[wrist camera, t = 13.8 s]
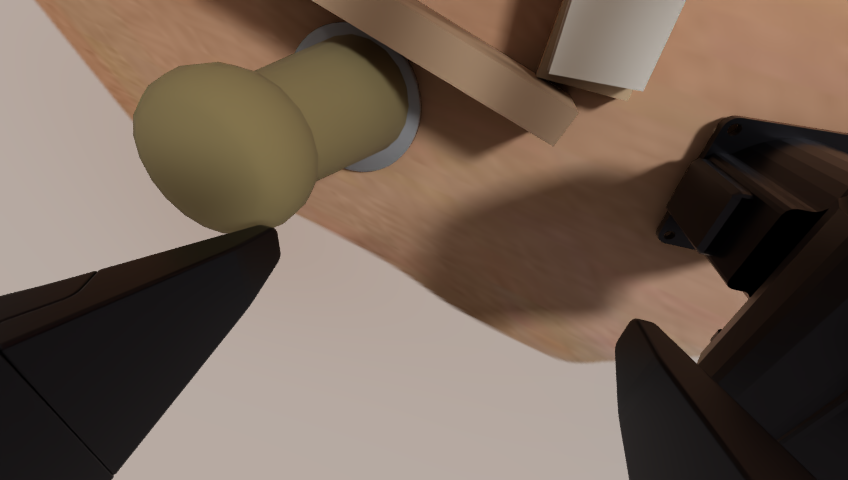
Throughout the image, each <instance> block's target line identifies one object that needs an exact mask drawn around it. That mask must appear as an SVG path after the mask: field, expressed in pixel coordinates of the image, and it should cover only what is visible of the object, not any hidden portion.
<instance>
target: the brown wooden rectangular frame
mask: <svg viewBox="0 0 848 480" xmlns="http://www.w3.org/2000/svg"><path fill="white" fill-rule="evenodd" d="M312 1H313V2H315V3H317V4H318V5H320V6H322V7H323V8H325V9H327V10H328V11H330V12H332V13H333V14H335V15H337V16H338V17H340V18H342V19H343V20H345V21H346V22H348V23H350V24H351V25H353V26H355V27H356V28H358V29H360V30H361V31H363V32H365V33H366V34H368V35H370V36H371V37H373V38H375V39H376V40H378V41H380V42H381V43H383V44H385V45H386V46H388V47H389V48H391V49H393V50H394V51H396V52H398V53H399V54H401V55H403V56H404V57H406V58H408V59H409V60H411V61H413V62H414V63H416V64H418V65H419V66H421V67H423V68H424V69H426V70H428V71H429V72H431V73H432V74H434V75H436V76H437V77H439V78H441V79H442V80H444V81H446V82H447V83H449V84H451V85H452V86H454V87H456V88H457V89H459V90H461V91H462V92H464V93H466V94H467V95H469V96H471V97H472V98H474V99H475V100H477V101H479V102H480V103H482V104H484V105H485V106H487V107H489V108H490V109H492V110H494V111H495V112H497V113H499V114H500V115H502V116H504V117H505V118H507V119H509V120H510V121H512V122H514V123H515V124H517V125H518V126H520V127H522V128H523V129H525V130H527V131H528V132H530V133H532V134H533V135H535V136H537V137H538V138H540V139H542V140H543V141H545V142H547V143H548V144H550V145H552V146H554V145H555V144H556V142H557V141H558V140H559V139H560V137H561V136H562V135H563V133H564V132H565V131H566V129H567V128H568V127H569V126H570V124H571V123H572V122H573V120H574V119H575V118H576V116H577V115H578V114H579V111H578V110H577V108H576V106H575V104H574V102H573V100H572V98H571V96H570V94H568V93H567V92H565V91H563V90H562V89H560V88H559V87H557V86H555V85H554V84H552V83H550V82H549V81H547V80H546V79H543V78H539V77H536V73H534V72H533V71H531V70H529V69H528V68H526V67H524V66H523V65H521V64H520V63H518V62H516V61H515V60H513V59H511V58H510V57H508V56H507V55H505V54H503V53H502V52H500V51H498V50H497V49H495V48H494V47H492V46H490V45H489V44H487V43H485V42H484V41H482V40H481V39H479V38H477V37H476V36H474V35H472V34H471V33H469V32H468V31H466V30H464V29H463V28H461V27H459V26H458V25H456V24H455V23H453V22H451V21H450V20H448V19H446V18H445V17H443V16H442V15H440V14H438V13H437V12H435V11H434V10H432V9H430V8H429V7H427V6H425V5H424V4H422V3H421V2H419V1H417V0H312Z"/></svg>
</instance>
